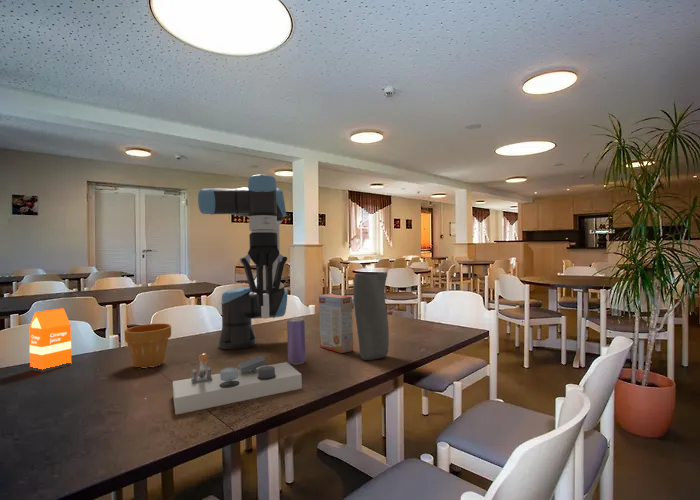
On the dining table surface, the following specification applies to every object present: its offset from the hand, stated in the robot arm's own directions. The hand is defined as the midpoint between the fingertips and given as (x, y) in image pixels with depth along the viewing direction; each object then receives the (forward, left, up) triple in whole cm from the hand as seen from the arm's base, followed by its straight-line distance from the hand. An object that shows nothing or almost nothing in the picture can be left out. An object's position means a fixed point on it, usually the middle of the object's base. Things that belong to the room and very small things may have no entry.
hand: (265, 317), depth 102 cm
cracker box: (-28, +35, -21) cm, 49 cm away
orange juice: (-60, -59, -21) cm, 87 cm away
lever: (-6, -16, -15) cm, 23 cm away
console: (-3, -7, -20) cm, 22 cm away
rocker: (-6, -2, -15) cm, 16 cm away
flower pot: (-45, -29, -21) cm, 58 cm away
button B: (+1, -10, -15) cm, 18 cm away
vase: (-11, +41, -21) cm, 47 cm away
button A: (0, 0, -16) cm, 16 cm away
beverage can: (-20, +16, -21) cm, 33 cm away
